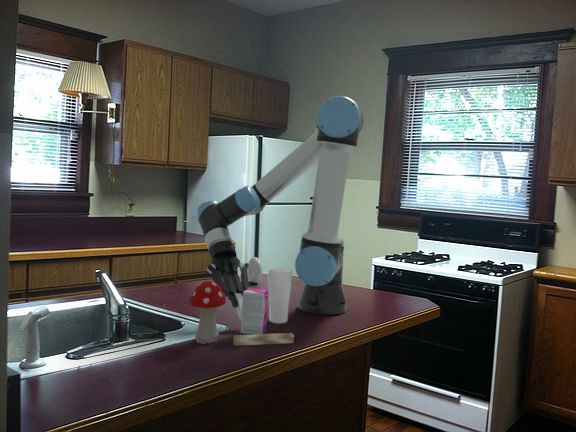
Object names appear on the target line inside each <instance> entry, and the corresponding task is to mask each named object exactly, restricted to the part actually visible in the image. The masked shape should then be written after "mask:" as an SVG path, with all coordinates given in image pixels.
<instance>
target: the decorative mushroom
mask: <svg viewBox="0 0 576 432" xmlns="http://www.w3.org/2000/svg"><path fill="white" fill-rule="evenodd" d="M226 303H227V297H225V294H224V293H223V291H222V288H221V287H220V285H219V284H217V283H216V282H214V281H213V280H205V281H202V282H201V283H198V285H197V286H196V287H195V289H194V290H193V292H192V294H191V295H190V298H189V304H190V306H191V307H194V308H197V309H199V321H198V326H197V330H196V333H195V334H194V338H195V341H196V343H197V344H202V345H203V344H205V345H206V343H208V344H212V342H213V343H216V342H217V341H218V340H219V336H220V333H219V330H218V328H217V321H216V319H217V318H216V308H219V307H221V306H224V305H225V304H226ZM215 341H216V342H215Z"/></svg>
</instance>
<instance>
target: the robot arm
mask: <svg viewBox="0 0 576 432" xmlns="http://www.w3.org/2000/svg"><path fill="white" fill-rule="evenodd" d="M316 117H317V121H316V122H317V124H318V125H317V126H316V127H315V128H314V129H315V131H314V133H313V134H311V135H310V136H309V137H308V138H307V139H305V140H304V141H303V142H302V143H301V144H300V145H299V146H297V147H296V148H295V149H294V150H293V151H292V152H290V153H289V154H288V155H287V156H285V158H284V159H282V160H281V161H280V162H279V163H278V164H276V165H275V166H273V168H272V169H270V171H268V172H267V173H266V174H265V175H263V176H261V178H260V179H258V181H256V182H255V183H254V184H253V185H252V186H250V185H245V186H243V187H241V188H239V189H237V190H236V191H235V192H234V193H232V194H230V195H229V196H227V197H226V198H224V199H223V200H221V201H220V202H219V201H216V200H208V201H204V202H202V203H200V204H199V206H198V207H197V210H196V216H197V220H198V223H199V226H200V229H201V232H202V234H203V237H204V238H203V239H204V241H205V245H206V248H207V250H208V254H209V257H210V261H211V264H208V265H207V268H206V269H205V273H206V274H207V275H208V276H210V278H211V280H212V281H213V282H216V283H217V284H219V285H220V287H221V288H222V291H223V293H224V294H225V297H226V298H227V300H229V301H230V303H231V306H232V307H233V309H234V308H235V309H236V313H237V315H238V319H239V320H241V317H242V299H243V292H244V291H245V290H247V289H248V288H250V284H249V275H248V266H249V264H248V263H249V262H245V263H243V262H241V260H240V259H239V258H238V256H237V251H236V249H235V246H234V245H235V244H234V243H233V240H232V237H231V234H230V231H229V228H228V227H229V226H231V225H232V224H233V225H234V223H236V222H238V221H239V220H240V219H242V218H245V217H247V216H253V215H254V216H255V215H259V213H261V212H262V211H263V210H264V209H265V207H266V206H267V205H268V204H269V203H271V201H273V200H274V199H275V198H276V197H277V196H279V195H280V194H281V193H283V192H284V191H285V190H286V189H287V188H289V187H290V186H291V185H292V184H293V183H294V182H295V181H297V180H298V179H299V178H301V177H302V176H303V175H305V174H306V172H308V171H309V170H310V169H311V168H312V167H314V166H315V165H316V164H317V171H316V177H315V183H314V189H313V197H312V202H311V203H312V204H311V210H310V215H309V216H310V217H309V224H308V229H307V231H306V232H304V233H303V234H302V236H301V241H300V246H299V252H298V254H297V255H296V258H295V262H294V265H295V266H294V268H295V272H296V275H297V276H298V278H299V280H300V281H301V282H303V283H304V286H303V289H302V292H301V295H300V297H299V300H298V310H300V311H302V312H304V313H309V314H314V315H315V314H316V315H326V316H327V315H338V314H343V313H346V312H347V307H348V303H347V300H346V296H345V292H344V290H343V289H344V288H343V267H344V265H343V264H344V250H345V246H344V244H345V243H344V242H345V241H344V239H343V238H341V237H339V235H338V234H339V226H340V221H341V214H342V209H343V201H344V194H345V189H346V182H347V178H348V177H347V176H348V170H349V165H350V164H349V163H350V157H351V153H352V152H353V151H354V150H356V149H357V147H358V140H359V135H360V133H361V130H362V129H363V127H364V114H363V112H362V109H360V107H359V105H358V104H357V102H356V101H355V100H353V99H352V98H350V97H347V96H343V95H335V96H332V97H330V98H328V99H326V100H325V101H324V102H323V103H322V104H321V105H320V107H319V109H318V111H317V115H316ZM238 268H239V271H238ZM238 272H240V276H239V274H238Z"/></svg>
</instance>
